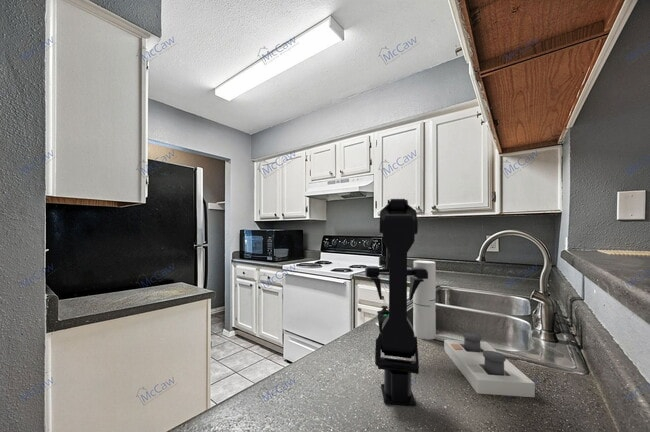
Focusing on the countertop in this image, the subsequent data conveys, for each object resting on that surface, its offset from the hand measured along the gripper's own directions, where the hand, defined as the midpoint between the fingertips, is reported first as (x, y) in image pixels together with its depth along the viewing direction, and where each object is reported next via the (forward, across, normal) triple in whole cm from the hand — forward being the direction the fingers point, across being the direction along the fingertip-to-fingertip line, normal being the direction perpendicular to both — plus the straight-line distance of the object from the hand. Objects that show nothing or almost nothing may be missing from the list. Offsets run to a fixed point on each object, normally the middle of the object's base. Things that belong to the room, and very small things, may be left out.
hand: (395, 299), depth 88 cm
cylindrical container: (+14, -12, -9) cm, 20 cm away
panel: (+14, -20, +13) cm, 28 cm away
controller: (+14, +2, -3) cm, 15 cm away
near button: (+12, -20, +19) cm, 30 cm away
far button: (+12, -20, +7) cm, 24 cm away
